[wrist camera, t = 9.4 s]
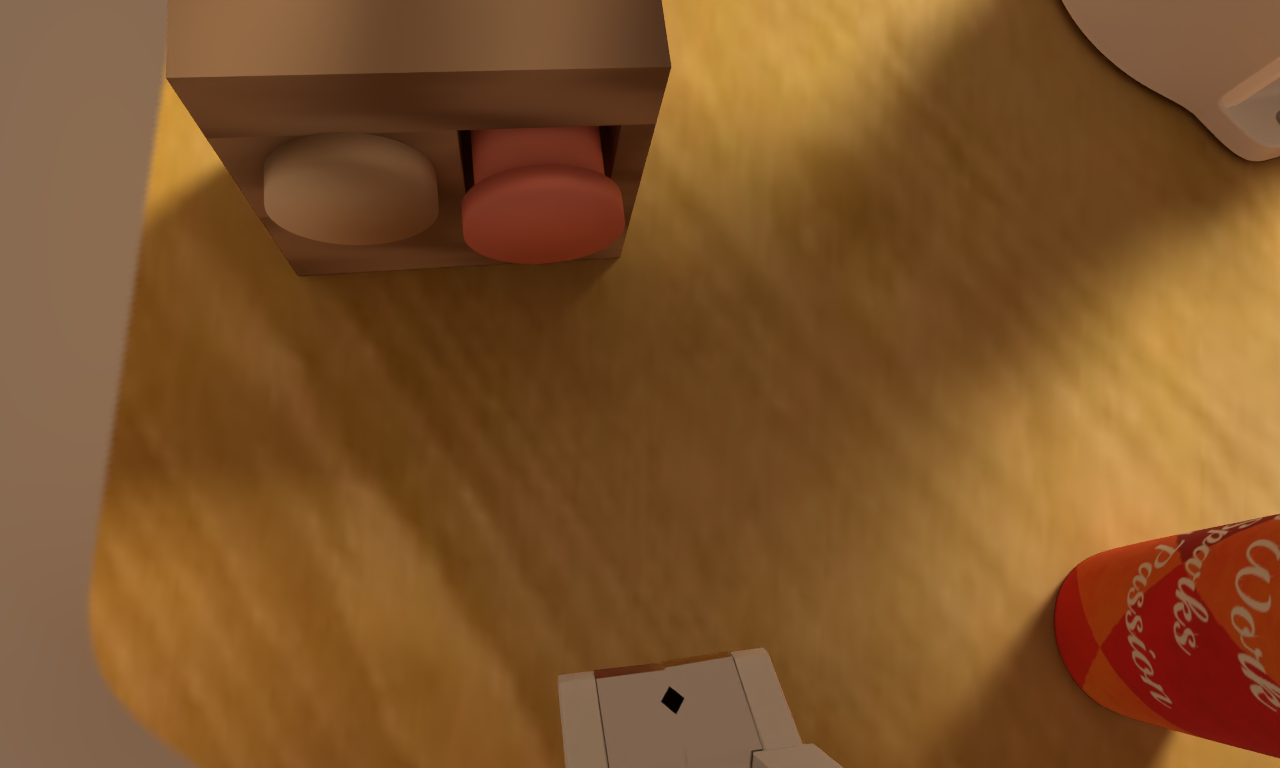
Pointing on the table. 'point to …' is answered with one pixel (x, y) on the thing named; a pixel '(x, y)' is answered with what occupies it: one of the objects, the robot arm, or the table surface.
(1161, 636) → the paper cup
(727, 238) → the table surface
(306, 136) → the socket block
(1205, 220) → the table surface
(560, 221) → the red plug
